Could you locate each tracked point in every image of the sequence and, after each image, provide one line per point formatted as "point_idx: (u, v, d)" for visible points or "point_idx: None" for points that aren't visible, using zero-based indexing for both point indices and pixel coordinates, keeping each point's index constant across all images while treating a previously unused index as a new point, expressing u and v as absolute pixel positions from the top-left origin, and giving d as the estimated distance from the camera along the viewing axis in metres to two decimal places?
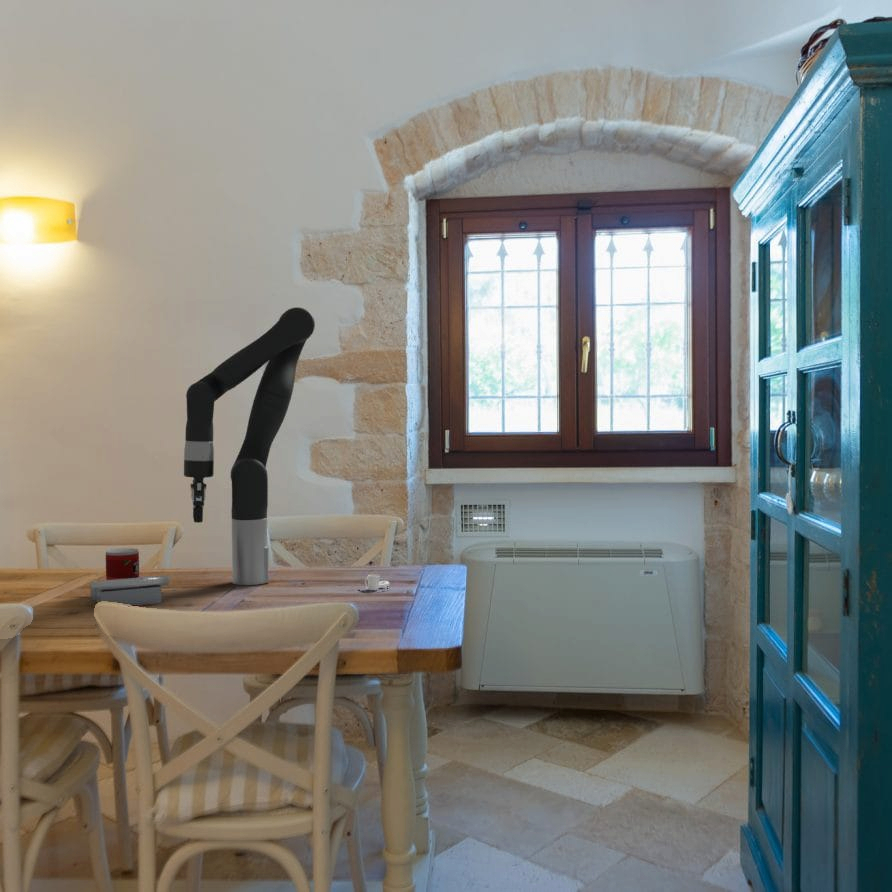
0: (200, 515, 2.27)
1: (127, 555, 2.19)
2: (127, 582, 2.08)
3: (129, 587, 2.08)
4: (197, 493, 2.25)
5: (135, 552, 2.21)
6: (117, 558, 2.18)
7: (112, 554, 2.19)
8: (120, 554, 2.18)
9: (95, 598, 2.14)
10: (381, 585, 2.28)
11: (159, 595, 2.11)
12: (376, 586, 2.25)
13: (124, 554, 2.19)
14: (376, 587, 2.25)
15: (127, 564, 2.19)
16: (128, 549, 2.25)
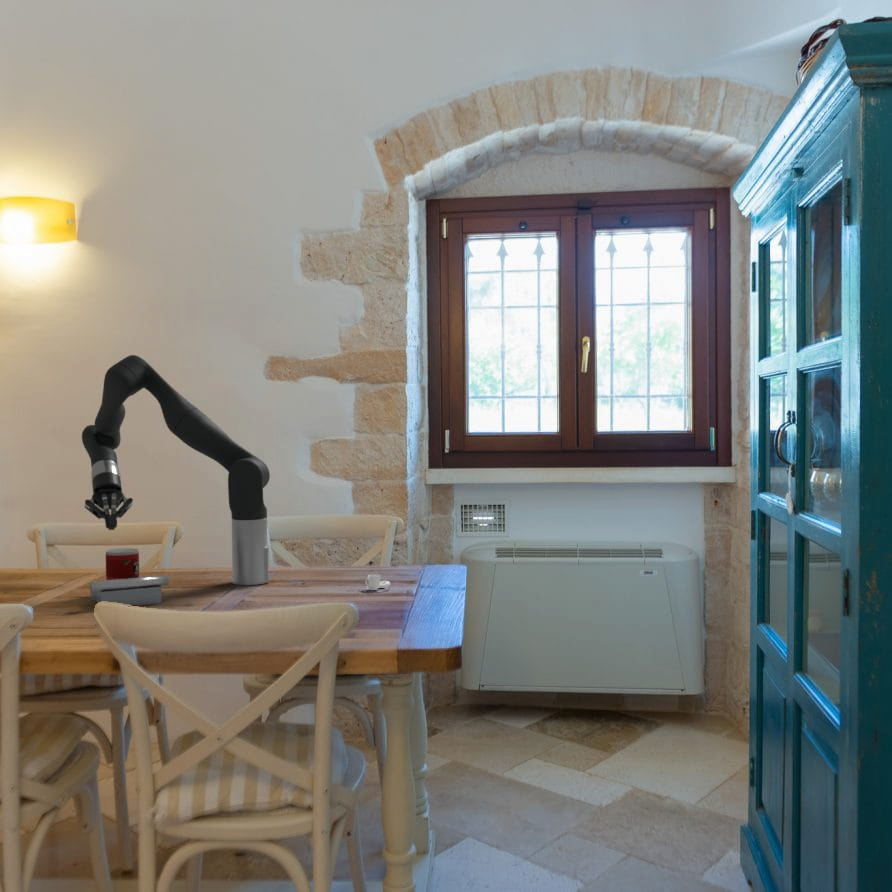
0: None
1: (127, 555, 2.19)
2: (127, 582, 2.08)
3: (129, 587, 2.08)
4: (127, 507, 2.45)
5: (135, 552, 2.21)
6: (117, 558, 2.18)
7: (112, 554, 2.19)
8: (120, 554, 2.18)
9: (95, 598, 2.14)
10: (382, 585, 2.27)
11: (159, 595, 2.11)
12: (377, 586, 2.25)
13: (124, 554, 2.19)
14: (377, 587, 2.25)
15: (127, 564, 2.19)
16: (128, 549, 2.25)
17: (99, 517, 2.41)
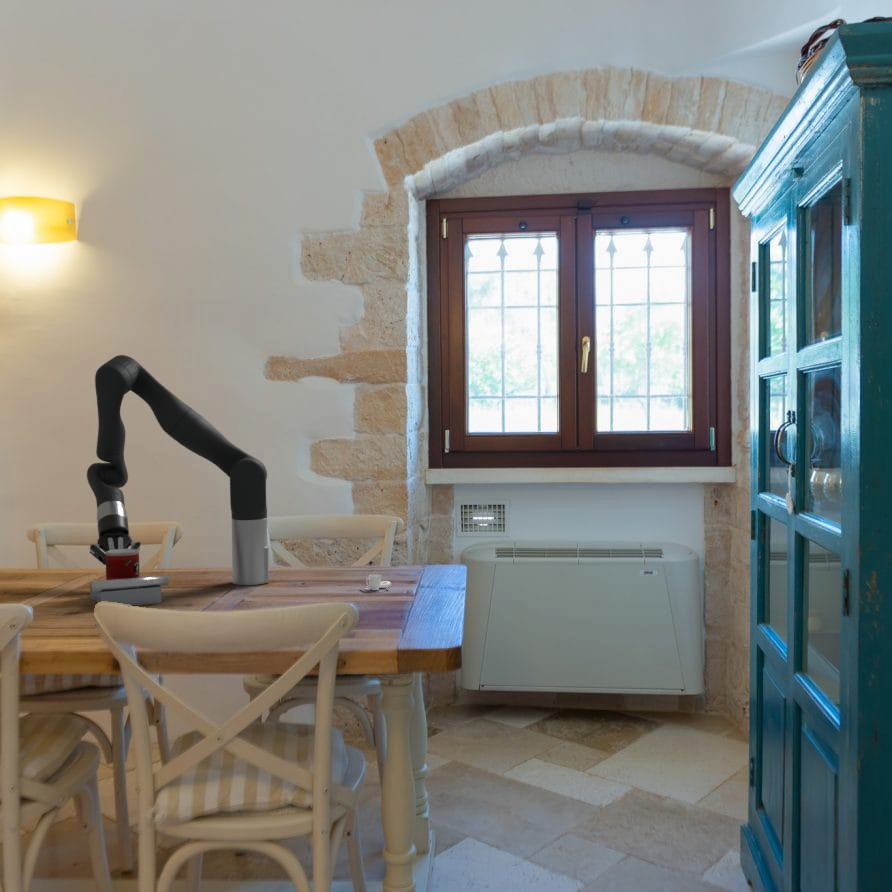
0: None
1: (128, 555, 2.18)
2: (127, 582, 2.08)
3: (129, 587, 2.08)
4: None
5: (136, 552, 2.20)
6: (118, 558, 2.17)
7: (112, 555, 2.17)
8: (121, 554, 2.17)
9: (95, 598, 2.14)
10: (382, 585, 2.27)
11: (159, 595, 2.11)
12: (377, 586, 2.25)
13: (125, 554, 2.18)
14: (377, 587, 2.25)
15: (128, 565, 2.18)
16: (128, 549, 2.24)
17: (105, 563, 2.27)
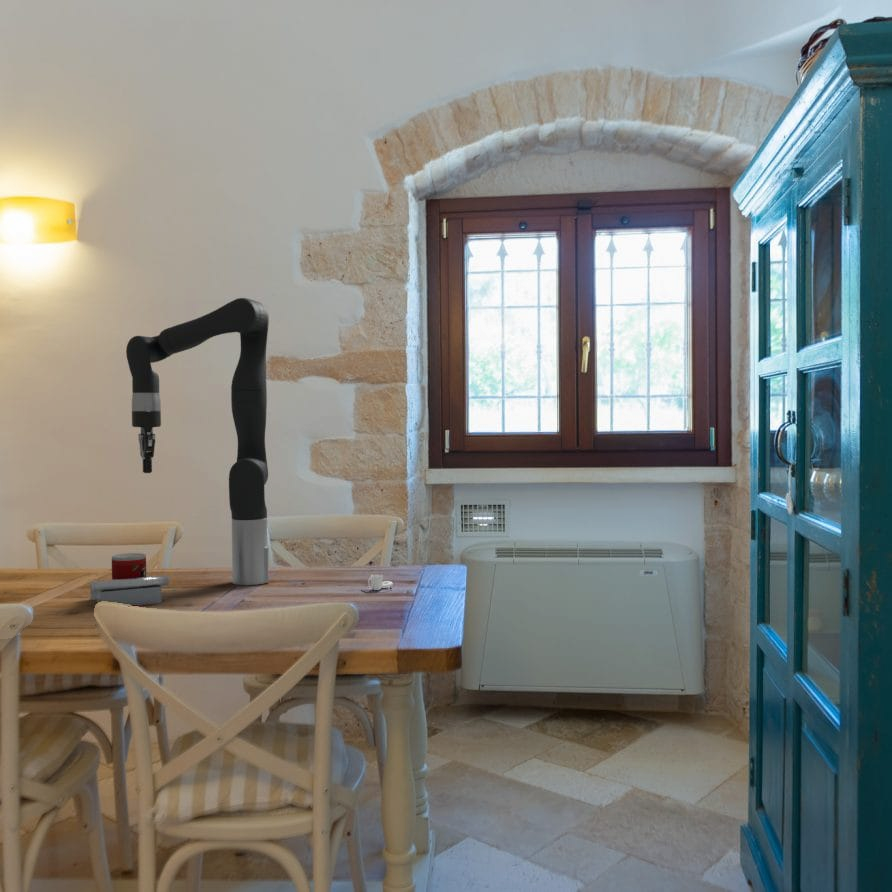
0: None
1: (135, 560, 2.11)
2: (127, 582, 2.08)
3: (129, 587, 2.08)
4: None
5: (143, 557, 2.13)
6: (125, 563, 2.10)
7: (119, 559, 2.10)
8: (128, 559, 2.11)
9: (95, 598, 2.14)
10: (384, 585, 2.27)
11: (159, 595, 2.11)
12: (379, 586, 2.25)
13: (132, 559, 2.11)
14: (379, 587, 2.25)
15: (135, 570, 2.11)
16: (134, 554, 2.17)
17: (145, 457, 2.40)
